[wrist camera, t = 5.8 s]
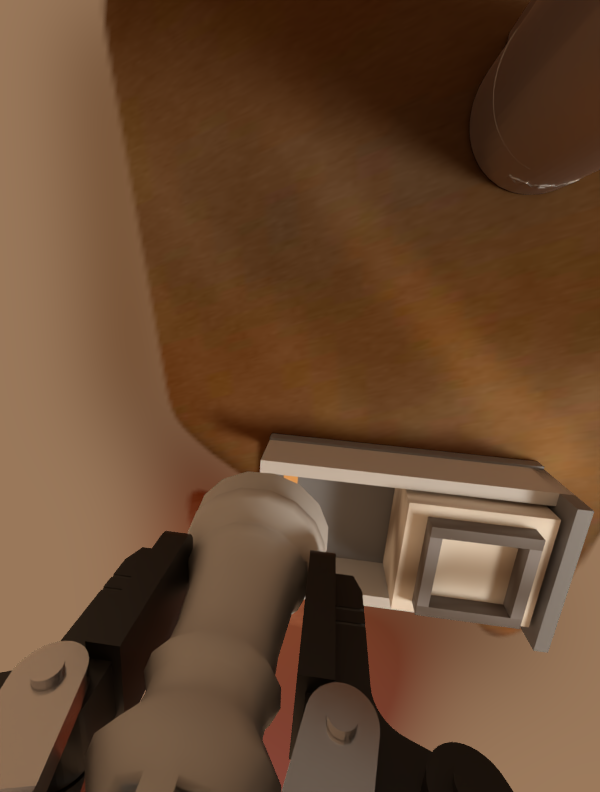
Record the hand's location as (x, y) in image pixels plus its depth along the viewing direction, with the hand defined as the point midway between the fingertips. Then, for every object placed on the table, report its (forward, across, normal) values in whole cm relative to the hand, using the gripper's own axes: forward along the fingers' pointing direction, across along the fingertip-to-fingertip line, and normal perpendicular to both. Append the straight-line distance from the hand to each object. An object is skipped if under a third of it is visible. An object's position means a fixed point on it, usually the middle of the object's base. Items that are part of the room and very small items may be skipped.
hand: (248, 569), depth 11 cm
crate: (+20, -13, +10) cm, 26 cm away
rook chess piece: (+2, 0, 0) cm, 2 cm away
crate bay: (+21, -8, +10) cm, 25 cm away
